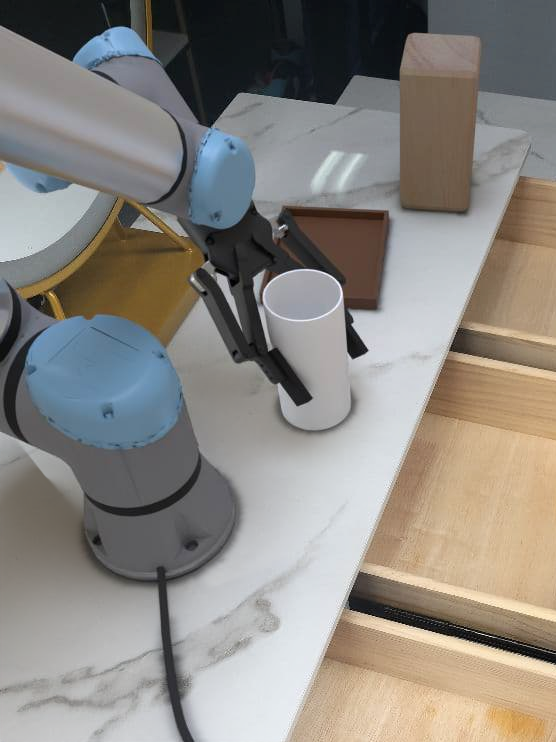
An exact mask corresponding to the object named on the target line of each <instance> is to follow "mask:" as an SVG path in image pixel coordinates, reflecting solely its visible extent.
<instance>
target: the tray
mask: <svg viewBox="0 0 556 742" xmlns="http://www.w3.org/2000/svg"><path fill="white" fill-rule="evenodd" d="M283 210H289V211H290V212H291V214H292V216H293V217H294V219H295V221H296V223H297V225H298V227H299V229H300V230H301V231H302V232H303V233H304V234H305V235H306V236H307V237H308V238H309V239H310V240H311V241H312V242H313V243H314V245H315V246H316V247H317V248H318V249H319V250H320V251H321V252H322V253H323V254H324V255H325V256H326V257H327V258H328V259H329V260H330V262H331V263H332V264H333V265H334V266H335V267H336V268H337V269H338V270H339V271H340V272H341V273H342V274H343V275H344V277H345V278H346V283H345V284H344V285H343V286H342V292H343V301H344V305H345V307H346V308H347V309H360V310H362V309H363V310H378V304H379V297H380V290H381V289H380V288H381V282H382V274H383V267H384V260H385V253H386V245H387V240H388V231H389V224H390V210H387V209H367V208H366V209H365V208H345V207H344V208H343V207H324V206H323V207H322V206H302V205H301V206H300V205H298V206H297V205H282V207H281V209H280V213H281V212H282V211H283ZM273 242H274V243H275V244H277V245H278V246H279V247H281V248H282V249H284V250H285V251H287V252H288V254H289V256H290V257H291V258H292V259H294V260H295V261H297V262H298V263H300V264H301V265H303V266H304V267H306V266H305V265H304V264H303V263H302V262H301V261H300V260H299V259H298V258H297V257H296V256H295V255H294V254H293V253H292V252H291V251H290V250H289V249H288V248H287V247H286V245H285V244H284V243H283V242H282V240H281V239H280V238H279V237H275V236H274V235H273ZM306 268H307V267H306ZM307 269H308V268H307ZM277 276H279V275H278V274H277V273H273V272H270V271H268V270H267V269H265V270H264V273H263V278H262V282H261V286H260V290H259V299H260V304H261V305H263V292H264V289H265V287H266V286H267V285H268V283H269V282H270V281H271V280H273V279H274V278H275V277H277Z"/></svg>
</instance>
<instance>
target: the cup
mask: <svg viewBox="0 0 556 742" xmlns="http://www.w3.org/2000/svg"><path fill="white" fill-rule="evenodd" d="M262 305H263V311H264V317H265V324H266V329H267V334H268V341H269V346H270V350H272V349H274V348H275V347H276V348H277V349H278V350H279V352H280V353H281V354H282V356H283V357H284V359H285V360H286V361H287V363H288V364H289V366H290V367H291V368H292V370H293V371H294V372H295V374H296V375H297V377H298V378H299V379H300V381H301V382H302V384H303V385H304V386H305V388H306V389H307V390H308V392H309V393H310V395H311V396H312V397H313V399H312V400H311V401H309V402H308V403H305V404H303V405H300V406H298V407H297V406H296V405H295V403H294V402H293V401H292V399H291V398H290V396H289V395H288V394H287V392H286V391H285V390H284V388H283V387H282V386H281V384H280V383H278V384H276V385H277V392H278V396H279V397H278V398H279V403H280V408H281V409H280V410H281V413H282V415H283V417H284V419H286V421H287V422H288V423H289V424H291V425H293V426H294V427H296V428H298V429H300V430H301V429H302V430H306V431H322V430H327V429H330V428H333V427H335V426H336V425H339V424H340V423H341V422H342V421H344V420H345V419H346V417H347V416H348V415H349V413H350V411H351V406H352V397H351V384H350V369H349V356H348V355H349V354H348V352H347V341H346V328H345V314H344V301H343V292H342V288H341V286H340V284H339V282H338V281H337V280H336V279H335V278H334V277H332V276H330V275H329V274H327V273H324V272H321V271H317V270H311V269H300V270H293V271H289V272H286V273H283V274H281V275H279V276H277V277H275V278H274V279H273V280H271V281H270V282H269V283H268V285H267V286H266V287H265V289H264V292H263V304H262Z"/></svg>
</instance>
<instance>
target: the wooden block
mask: <svg viewBox="0 0 556 742" xmlns="http://www.w3.org/2000/svg"><path fill="white" fill-rule="evenodd" d="M482 46H483V44H482V41H481V38H480V37H478V36H476V35H461V34H442V33H425V32H424V33H422V32H412V33H409V34H408V35H407V37H406V39H405V43H404V49H403V53H402V57H401V63H400V68H399V201H400V204H401V206H402V207H403V208H405V209H416V210H429V211H431V210H432V211H445V212H446V211H448V212H465V211H467V210H468V207H469V206H470V199H471V187H472V176H473V164H474V152H475V151H474V150H475V139H476V138H475V137H476V125H477V111H478V97H479V83H480V74H481V71H480V70H481V59H482Z"/></svg>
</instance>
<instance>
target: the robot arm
mask: <svg viewBox="0 0 556 742" xmlns="http://www.w3.org/2000/svg"><path fill="white" fill-rule="evenodd" d="M0 162H2V164H3V166H4V168H5V169H6V170H7V171H8V173H9V174H10V175H11V176H12V177H13V178H14V179H15V180H16V181H17V182H18V183H19V184H20V185H21V186H23V187H24V188H26V189H27V190H29V191H32V192H34V193H37V194H49V193H52V192H56V191H62V190H65V189H68V188H69V187H70V186H71V185H73V184H75V185H77V186H81V187H84V188H88V189H89V190H90V189H91V190H94V191H97V192H100V193H104V194H107V195H110V196H114V197H117V198H120V199H122V200H126V201H130V202H132V203H136V204H138V205H139V206H140V205H141V206H144V207H146V208H150V209H154V210H156V211H158V212H162V213H166V214H168V215H172V216H175V217H176V221H177V223H178V224H179V225H180V227H181V228H182V230H183V231H184V233H185V234H186V235H187V237H188V238H189V240H190V241H191V242H192V244H193V245H194V246H195V247H197V248H198V249H199V250H200V252H201V254H202V256H203V261H204V264H203V265H202V266H201V267H197V269H196V270H195V271H193V273H191V274H190V275H189V276H188V277H187V284H188V285H189V286H190V287H191V288H192V289H193V290H194V291H195V292H196V293H197V295H199V296H200V297H201V299H202V301H203V303H204V305H205V307H206V309H207V311H208V314H209V315H210V317H211V320H212V322H213V323H214V325H215V327H216V329H217V331H218V333H219V335H220V337H221V339H222V341H223V343H224V345H225V348H226V350H227V352H228V353H229V355H230V357H231V360H232V361H233V362H234V363H235V364H237V365H241V364H242V363H246V362H255V363H256V364H257V366H258V367H259V369H260V370H261V372H262V373H263V374H264V375H265V377H266V378H267V380H268V381H269V382H270V383H271V384H272V385H274V386H276V385H277V384H278V383H280V384H281V386H282V387H283V388H284V390H285V391H286V392H287V394H288V395H289V396H290V398H291V399H292V401H293V402H294V403H295V405H296V406H297V407H298V406H300V405H303V404H305V403H308V402H309V401H311V400H312V399H313V397H312V396H311V395H310V393H309V392H308V390H307V389H306V388H305V386H304V385H303V384H302V382H301V381H300V379H299V378H298V377H297V375H296V374H295V372H294V371H293V370H292V368H291V367H290V366H289V364H288V363H287V361H286V360H285V359H284V357H283V356H282V354H281V353H280V352H279V350H278V349H277V348H276V347H275V348H274V349H272V350H271V349H270V350H269V347H268V342H267V338H266V334H265V330H264V326H263V322H262V318H261V314H260V311H259V306H258V301H257V298H256V294H255V289H254V287H255V281H254V278H256V276H257V275H259V274H261V273H262V272H264V271H265V270H266V269H267V270H268V271H270V272H273V273H277V274H278V275H281V274H283V273H286V272H289V271H293V270H300V269H307V268H308V269H311V270H317V271H321V272H324V273H327V274H329V275H330V276H332V277H334V278H335V279H336V280H337V281H338V282H339V284H340V286H341V288H342V286H343V285H344V284H345V283H346V278H345V277H344V275H343V274H342V273H341V272H340V271H339V270H338V269H337V268H336V267H335V266H334V265H333V264H332V263H331V262H330V260H329V259H328V258H327V257H326V256H325V255H324V254H323V253H322V252H321V251H320V250H319V249H318V248H317V247H316V246H315V245H314V243H313V242H312V241H311V240H310V239H309V238H308V237H307V236H306V235H305V234H304V233H303V232H302V231H301V230H300V229H299V227H298V225H297V223H296V221H295V219H294V217H293V216H292V214H291V212H290V211H289V210H283V211H282V212H281V211H280V213H278V214H277V215H275V216H273V217H271V218H269V219H267V218H266V217H265V216H263V215H262V214H260V212H258V209H257V207H256V204H255V202H254V200H253V194H254V190H255V187H256V165H255V160H254V157H253V154H252V152H251V149H250V148H249V147H248V144H246V143H245V141H243V140H242V139H241V138H239V137H237V136H235V135H231V134H229V133H226V132H223V131H222V130H221V129H220V128H218V127H214V126H211V127H207V126H205V125H202V124H201V123H200V122H199V121H198V119H197V118H196V116H195V115H194V113H193V112H192V110H191V109H190V107H189V106H188V104H187V103H186V101H185V100H184V98H183V96H182V95H181V94H180V92H179V91H178V89H177V88H176V86H175V84H174V83H173V81H172V80H171V78H170V77H169V75H168V74H167V72H166V70H165V68H164V66H163V63H162V62H161V61H160V60H159V58H157V57H155V55H154V54H153V53H152V51H151V50H150V48H148V46H147V45H146V44H145V42H144V41H143V39H142V38H141V37H140V36H139V34H138V33H137V32H136V31H134V30H133V29H132V28H129V27H126V26H116V27H112V28H108V29H106V30H105V31H104V32H102V33H101V34H100V35H96V36H94V37H92V39H90V40H89V41H88V42H86V43H85V44H84V45H83V46H82V47H81V48H80V49H79V50H78V51H77V53H76V54H75V56H74V57H73V59H72V61H71V60H69V59H67V58H66V57H63V56H61V55H60V54H58V53H55V52H54V51H52V50H50V49H48V48H46V47H44V46H42V45H40V44H38V43H36V42H33V41H32V40H30V39H28V38H26V37H24V36H23V35H20V34H18V33H16V32H14V31H12V30H10V29H8V28H6V27H4V26H2V25H0ZM274 236H275V237H279V238H280V239H281V240H282V242H283V243H284V244H285V245H286V247H287V248H288V249H289V250H290V251H291V252H292V253H293V254H294V255H295V256H296V257H297V258H298V259H299V260H300V261H301V262H302V263H303V264H304V265H305V266H306V267H307V268H306V267H304V266H303V265H301V264H300V263H298V262H297V261H295V260H294V259H292V258H291V257H290V256H289V254H288V252H287V251H285V250H284V249H282V248H281V247H279V246H278V245H277V244H275V243H274V242H273V240H274ZM215 273H216V274H215ZM217 274H219V275H221V276H223V277H225V278H226V281H227V285H228V289H229V293H230V295H231V296H233V300H234V304H235V308H236V312H237V315H238V319H237V318H236V315H235V314H234V312H233V310H232V308H231V306H230V304H229V302H228V300H227V297H226V295H225V294H224V292H223V290H222V288H221V287H220V285H219V284H218V283H219V282H218V276H217ZM344 314H345V328H346V341H347V355H349V357H350V359H351V360H355V359H358V358H359V357H362V356H364V355H366V354H367V353H368V352H369V351H370V350H369V347H367V345H366V344H365V342H364V341H363V339H362V338H361V336H360V335H359V333H358V332H357V330H356V329H355V328H354V326H353V324H354V323H355V320H354V317H353V316H352V314H351V313H350V311H349V310H348V308H346V307H345V305H344ZM238 320H239V322H238ZM239 323H240V324H239ZM193 427H194V426H193V423H192V420H191V416H190V413H189V410H188V406H187V402H186V399H185V396H184V392H183V386H182V384H181V379H180V376H179V374H178V371H177V369H176V368H175V366H173V363H172V361H171V358H170V356H169V354H168V352H167V350H166V348H165V347H164V345H163V344H162V342H161V341H160V340H159V339H158V338H157V337H156V336H155V335H154V334H153V333H152V332H151V331H150V330H148V329H146V328H145V327H143V326H142V325H140V324H138V323H137V322H134V321H132V320H130V319H127V318H124V317H121V316H117V315H112V314H111V315H110V314H100V313H97V314H94V316H93V317H92V318H91V319H86V318H85V316H84V315H76V316H73V317H68V318H66V319H62V320H60V319H56V318H54V317H51V316H49V315H47V314H46V313H45V314H44V313H43V312H42V311H39V310H37V309H36V308H35V307H34V306H32V305H31V303H29V302H28V301H27V300H26V299H25V298H24V297H23V296H22V295H21V294H20V293H19V292H18V291H17V290H15V288H14V287H13V286H12V285H11V284H10V283H9V282H7V280H6V279H5V278H4V277H3V276H1V275H0V433H3V434H5V435H7V436H9V437H10V438H11V437H12V438H14V439H16V440H18V441H20V442H23V443H25V444H27V445H29V446H32V447H33V448H36V449H38V450H40V451H42V452H45V453H47V454H50V455H51V456H54V457H56V458H58V459H60V460H62V461H63V462H64V463H66V464H67V465H68V466H69V468H70V470H71V471H72V473H73V475H74V477H75V479H76V481H77V483H78V485H79V487H80V488H81V490H82V492H83V528H84V532H85V537H86V539H87V542H88V544H89V546H90V549H91V550H92V552H93V553H94V556H95V557H96V558H97V559H98V560H99V562H100V563H101V564H102V565H103V566H104V567H106V568H107V569H109V570H110V571H111V572H113V573H115V574H117V575H120V576H122V577H125V578H128V579H131V580H137V581H149V582H150V581H157V591H158V604H159V615H160V617H159V619H160V633H161V642H162V651H163V658H164V666H165V673H166V674H165V675H166V681H167V687H168V688H167V689H168V693H169V698H170V703H171V708H172V712H173V716H174V720H175V725H176V727H177V729H178V732H179V735H180V737H181V740H182V741H183V742H195V740H194V738H193V736H192V734H191V732H190V729H189V727H188V725H187V722H186V719H185V716H184V711H183V707H182V702H181V699H180V694H179V689H178V682H177V677H176V676H177V675H176V669H175V661H174V654H173V647H172V639H171V628H170V613H169V601H168V592H167V591H168V589H167V580H169V579H173V578H177V577H181V576H183V575H186V574H188V573H190V572H192V571H194V570H196V569H198V568H200V567H201V566H203V565H205V563H207V562H208V561H210V559H212V558H213V557H214V556H215V555H216V554H218V552H219V551H220V550H221V549H222V548H223V546H224V545H225V543H226V542H227V541H228V539H229V537H230V534H231V532H232V530H233V527H234V523H235V517H236V509H235V508H236V507H235V503H234V498H233V495H232V492H231V489H230V487H229V485H228V483H227V481H226V480H225V478H224V476H223V475H222V474H221V473H220V471H219V470H218V469H217V468H216V467H214V465H213V464H212V463H210V462H209V461H208V460H207V458H206V457H205V456H204V455H203V453H202V452H201V451H200V448H199V443H198V439H197V437H196V435H195V430H194V428H193Z"/></svg>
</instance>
